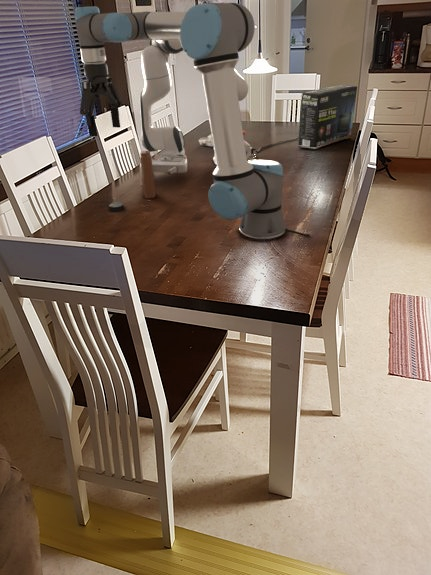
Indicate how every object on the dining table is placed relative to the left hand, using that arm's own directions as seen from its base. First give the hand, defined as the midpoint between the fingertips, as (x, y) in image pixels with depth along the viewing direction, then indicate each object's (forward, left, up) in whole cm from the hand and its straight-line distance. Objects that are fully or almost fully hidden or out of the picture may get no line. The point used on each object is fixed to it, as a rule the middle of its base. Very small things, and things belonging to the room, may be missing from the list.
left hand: (158, 171), depth 191 cm
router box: (-98, +30, -6) cm, 102 cm away
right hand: (+29, +4, +22) cm, 36 cm away
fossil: (-67, -21, -6) cm, 70 cm away
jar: (+12, +5, -6) cm, 14 cm away
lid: (+28, +4, -5) cm, 29 cm away
